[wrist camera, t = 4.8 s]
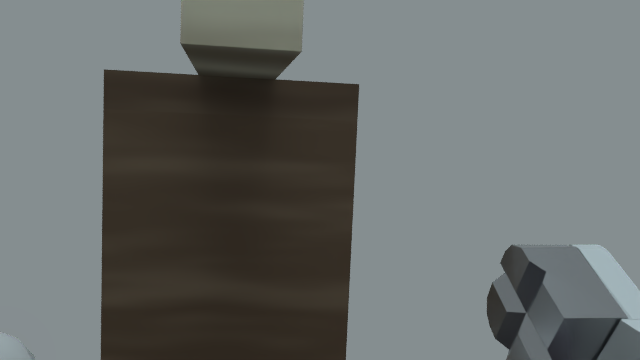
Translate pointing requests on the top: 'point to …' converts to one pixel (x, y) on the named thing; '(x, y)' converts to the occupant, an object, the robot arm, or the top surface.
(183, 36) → the birch bar
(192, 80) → the walnut block
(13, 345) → the potion bottle
